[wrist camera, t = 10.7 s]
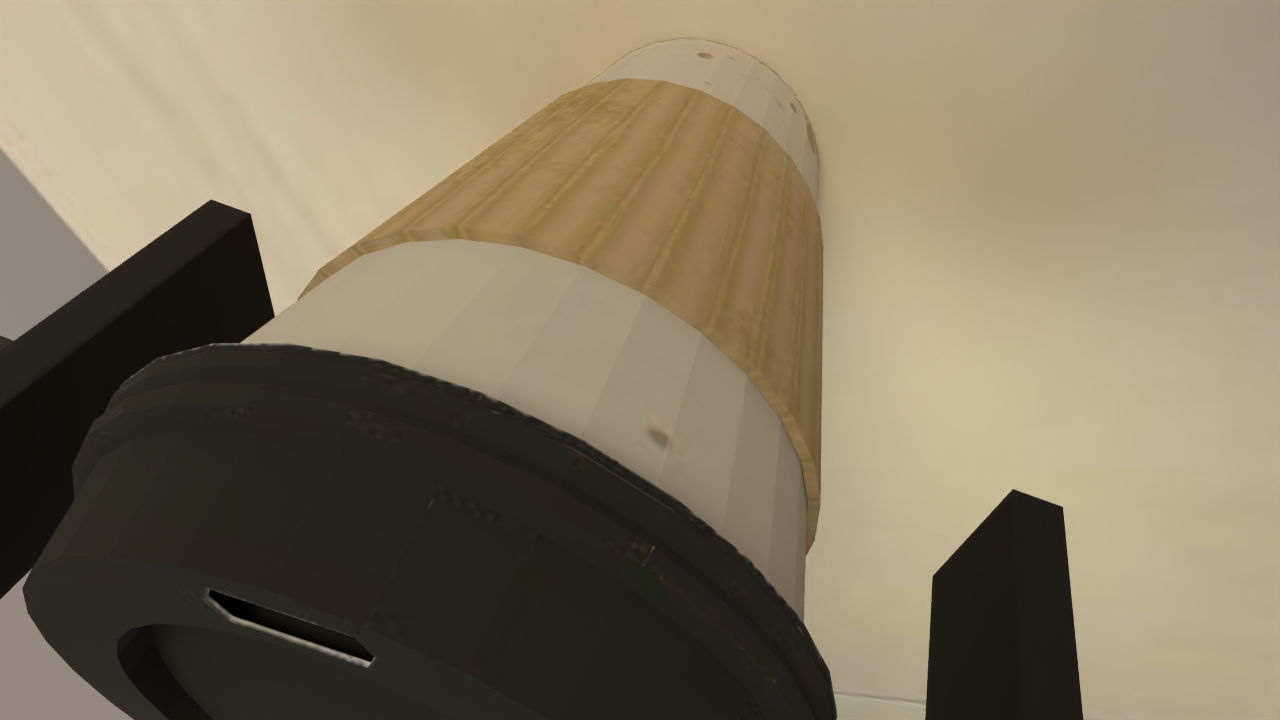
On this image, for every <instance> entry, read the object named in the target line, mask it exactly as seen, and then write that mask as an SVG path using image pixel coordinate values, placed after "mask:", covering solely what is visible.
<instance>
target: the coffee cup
mask: <svg viewBox="0 0 1280 720" xmlns="http://www.w3.org/2000/svg"><path fill="white" fill-rule="evenodd" d="M817 187H818V157H817V148H816V140H815V137H814V134H813V131H812V128H811V125H810V122H809V119H808V116H807V115H806V113H805V111H804V110H803V108H802V106H801V104H800V103H799V101H798V99H797V97H796V96H795V94H794V93H793V92H792V91H791V90H790V89H789V88H788V86H787V85H786V84H785V83H784V82H783V81H782V80H781V79H780V77H779V76H778V75H777V74H775V73H774V72H773V71H771V70H770V69H769V68H767V67H766V66H765V65H764V64H762V63H761V62H760V61H758V60H757V59H756V58H753V57H751V56H749V55H747V54H745V53H743V52H741V51H739V50H737V49H735V48H733V47H730V46H726V45H722V44H719V43H715V42H711V41H707V40H694V39H675V40H669V41H662V42H656V43H653V44H650V45H647V46H645V47H642V48H640V49H637V50H635V51H632V52H631V53H629V54H628V55H626V56H625V57H623V58H622V59H620V60H619V61H617V62H616V63H615V64H613V65H612V66H610V67H609V68H608V69H606V70H605V71H604V72H602V73H601V74H600V75H598V76H597V77H596V78H594V79H593V80H592V81H590V82H589V83H588V84H586V85H585V86H584V87H582V88H579V89H577V90H574V91H572V92H569V93H566V94H564V95H562V96H561V97H559V98H558V99H556V100H555V101H553V102H552V103H550V104H549V105H548V106H546V107H545V108H543V109H542V110H540V111H539V112H537V113H536V114H535V115H533V116H532V117H531V118H529V119H528V120H526V121H525V122H524V123H522V124H521V125H519V126H518V127H517V128H515V129H514V130H512V131H511V132H510V133H508V134H507V135H505V136H504V137H503V138H501V139H500V140H499V141H497V142H496V143H494V144H493V145H492V146H490V147H489V148H487V149H486V150H485V151H483V152H482V153H480V154H479V155H478V156H476V157H475V158H473V159H472V160H471V161H469V162H468V163H466V164H465V165H464V166H462V167H461V168H460V169H458V170H457V171H455V172H454V173H453V174H451V175H450V176H448V177H447V178H446V179H444V180H443V181H441V182H440V183H439V184H437V185H436V186H434V187H433V188H432V189H430V190H429V191H428V192H426V193H425V194H423V195H422V196H421V197H419V198H418V199H416V200H415V201H414V202H412V203H411V204H409V205H408V206H407V207H405V208H404V209H402V210H401V211H400V212H398V213H397V214H395V215H394V216H393V217H391V218H390V219H389V220H387V221H386V222H384V223H383V224H382V225H380V226H379V227H377V228H376V229H375V230H373V231H372V232H370V233H369V234H368V235H366V236H365V237H363V238H362V239H361V240H359V241H358V242H357V243H355V244H354V245H352V246H351V247H350V248H348V249H347V250H345V251H344V252H343V253H341V254H340V255H338V256H337V257H336V258H334V259H333V260H331V261H330V262H329V263H327V264H326V265H324V266H323V267H322V268H320V269H319V270H318V272H317V273H316V275H315V276H314V277H313V279H312V280H311V281H310V283H309V284H308V285H307V287H306V288H305V290H304V291H303V292H302V294H301V295H300V296H299V298H298V300H297V301H296V302H295V303H293V304H292V305H291V306H289V307H288V308H287V309H285V310H284V311H283V312H281V313H280V314H279V315H277V316H276V317H275V318H273V319H272V320H270V321H269V322H268V323H266V324H265V325H264V326H262V327H261V328H260V329H258V330H257V331H256V332H254V333H253V334H252V335H250V336H249V337H248V338H246V339H245V340H243V341H242V342H241V343H222V344H209V345H205V346H201V347H198V348H194V349H190V350H186V351H182V352H178V353H175V354H171V355H167V356H163V357H159V358H156V359H155V360H154V361H152V362H151V363H149V364H148V365H147V366H145V367H144V368H143V369H141V370H140V371H138V372H137V373H136V374H134V375H133V376H132V377H130V378H129V379H127V380H126V381H125V382H123V383H122V384H121V386H120V388H119V390H117V391H116V392H115V393H114V395H113V396H112V398H111V400H110V402H109V404H108V406H107V408H106V410H105V412H104V414H103V415H101V416H100V417H99V418H97V419H96V420H94V421H93V423H92V425H91V427H90V429H89V431H88V433H87V435H86V437H85V440H84V442H83V444H82V446H81V448H80V450H79V452H78V454H77V457H76V459H75V461H74V463H73V465H72V473H73V487H74V501H73V503H72V505H71V506H70V508H69V509H68V511H67V513H66V514H65V516H64V518H63V519H62V521H61V522H60V524H59V526H58V527H57V529H56V531H55V532H54V534H53V536H52V537H51V539H50V540H49V542H48V544H47V545H46V547H45V549H44V550H43V552H42V553H41V555H40V557H39V558H38V560H37V562H36V563H35V565H34V566H33V568H32V570H31V572H30V574H29V576H28V578H27V580H26V582H25V584H24V586H23V593H24V598H25V602H26V607H27V611H28V614H29V615H30V617H31V618H32V620H33V622H34V623H35V625H36V626H37V628H38V629H39V631H40V632H41V634H42V635H43V637H44V638H45V640H46V641H47V642H48V643H49V645H51V647H52V648H53V649H54V650H55V651H56V652H57V653H58V654H59V655H60V656H61V657H62V658H63V660H64V661H65V662H66V663H67V664H68V665H69V666H70V667H71V668H72V669H73V670H74V671H75V672H76V673H77V674H78V675H80V676H81V677H82V678H83V679H84V680H85V681H87V682H88V683H89V684H90V685H91V686H92V687H93V688H95V689H96V690H97V691H98V692H99V693H100V694H102V695H103V696H104V697H105V698H106V699H108V700H109V701H110V702H111V703H113V704H114V705H115V706H117V707H118V708H119V709H121V710H122V711H123V712H125V713H126V714H128V715H129V716H130V717H131V718H133V719H134V720H836V719H837V711H836V705H835V699H834V694H833V688H832V682H831V677H830V671H829V669H828V667H827V666H826V664H825V662H824V660H823V658H822V656H821V654H820V653H819V651H818V649H817V647H816V645H815V643H814V642H813V640H812V638H811V636H810V634H809V632H808V630H807V629H806V627H805V625H804V592H805V557H806V555H807V553H808V552H809V550H810V548H811V546H812V544H813V542H814V541H815V534H816V528H817V522H818V516H819V510H820V493H821V405H822V317H823V241H822V233H821V224H820V217H819V214H818V211H817Z"/></svg>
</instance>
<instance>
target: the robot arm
mask: <svg viewBox="0 0 1280 720" xmlns="http://www.w3.org/2000/svg"><path fill="white" fill-rule="evenodd" d="M273 318H275V315H274V311H273V307H272V302H271V298H270V294H269V290H268V286H267V281H266V277H265V273H264V269H263V264H262V260H261V256H260V252H259V247H258V243H257V239H256V235H255V230H254V226H253V222H252V218H251V214H250V213H247V212H244V211H241V210H238V209H236V208H233V207H230V206H227V205H225V204H222V203H219V202H216V201H214V200H210V201H208V202H207V203H205V204H204V205H203V206H201V207H200V208H198V209H197V210H196V211H194V212H193V213H191V214H190V215H189V216H187V217H186V218H184V219H183V220H182V221H180V222H179V223H178V224H176V225H175V226H173V227H172V228H171V229H169V230H168V231H166V232H165V233H164V234H162V235H161V236H159V237H158V238H157V239H155V240H154V241H153V242H151V243H150V244H148V245H147V246H146V247H144V248H143V249H141V250H140V251H139V252H137V253H136V254H134V255H133V256H132V257H130V258H129V259H127V260H126V261H125V262H123V263H122V264H121V265H119V266H118V267H116V268H115V269H114V270H112V271H111V272H109V273H108V274H107V275H105V276H104V277H102V278H101V279H100V280H98V281H97V282H96V283H94V284H93V285H91V286H90V287H89V288H87V289H86V290H85V291H83V292H82V293H80V294H79V295H78V296H76V297H75V298H73V299H72V300H70V301H69V302H68V303H66V304H65V305H64V306H62V307H61V308H59V309H58V310H57V311H55V312H54V313H52V314H51V315H50V316H48V317H47V318H46V319H44V320H43V321H41V322H40V323H38V324H37V325H36V326H34V327H33V328H32V329H30V330H29V331H28V332H26V333H25V334H23V335H22V336H20V337H19V338H18V339H17V340H15V341H12V340H10V339H7V338H5V337H2V336H0V599H1V598H2V597H3V596H4V595H5V594H6V593H7V592H8V591H9V590H10V589H11V588H12V587H13V586H14V585H15V584H16V583H17V582H18V581H19V580H21V579H22V578H23V577H24V576H25V575H26V574H27V573H28V572H29V571H30V570H31V569H32V568H33V566H34V565H35V563H36V562H37V560H38V558H39V557H40V555H41V553H42V552H43V550H44V549H45V547H46V545H47V544H48V542H49V540H50V539H51V537H52V536H53V534H54V532H55V531H56V529H57V527H58V526H59V524H60V522H61V521H62V519H63V518H64V516H65V514H66V513H67V511H68V509H69V508H70V506H71V505H72V503H73V501H74V487H73V473H72V465H73V463H74V461H75V459H76V457H77V454H78V452H79V450H80V448H81V446H82V444H83V442H84V440H85V437H86V435H87V433H88V431H89V429H90V427H91V425H92V423H93V421H94V420H96V419H97V418H99V417H100V416H101V415H103V414H104V412H105V410H106V408H107V406H108V404H109V402H110V400H111V398H112V396H113V395H114V393H115V392H116V391H117V390H119V388H120V386H121V384H122V383H123V382H125V381H126V380H127V379H129V378H130V377H132V376H133V375H134V374H136V373H137V372H138V371H140V370H141V369H143V368H144V367H145V366H147V365H148V364H149V363H151V362H152V361H154V360H155V359H156V358H159V357H163V356H167V355H171V354H175V353H178V352H182V351H186V350H190V349H194V348H198V347H201V346H205V345H209V344H222V343H241V342H242V341H243V340H245V339H246V338H248V337H249V336H250V335H252V334H253V333H254V332H256V331H257V330H258V329H260V328H261V327H262V326H264V325H265V324H266V323H268V322H269V321H270V320H272V319H273ZM925 720H1083V713H1082V702H1081V692H1080V681H1079V671H1078V660H1077V650H1076V639H1075V629H1074V618H1073V608H1072V598H1071V587H1070V577H1069V566H1068V556H1067V545H1066V535H1065V524H1064V514H1063V507H1061V506H1058V505H1055V504H1053V503H1050V502H1047V501H1044V500H1042V499H1039V498H1036V497H1033V496H1031V495H1028V494H1025V493H1022V492H1019V491H1017V490H1014V489H1013V490H1012V491H1011V492H1010V493H1009V494H1008V495H1007V496H1006V497H1005V498H1004V499H1003V501H1002V502H1001V503H1000V504H999V505H998V506H997V507H996V508H995V509H994V510H993V511H992V512H991V514H990V515H989V516H988V517H987V518H986V519H985V520H984V521H983V522H982V523H981V524H980V525H979V527H978V528H977V529H976V530H975V531H974V532H973V533H972V534H971V535H970V536H969V537H968V538H967V540H966V541H965V542H964V543H963V544H962V545H961V546H960V547H959V548H958V549H957V550H956V551H955V553H954V554H953V555H952V556H951V557H950V558H949V559H948V560H947V561H946V562H945V563H944V565H943V566H942V567H941V568H940V569H939V570H938V571H937V572H936V573H935V574H934V575H933V582H932V602H931V621H930V641H929V660H928V679H927V699H926V718H925Z"/></svg>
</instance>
